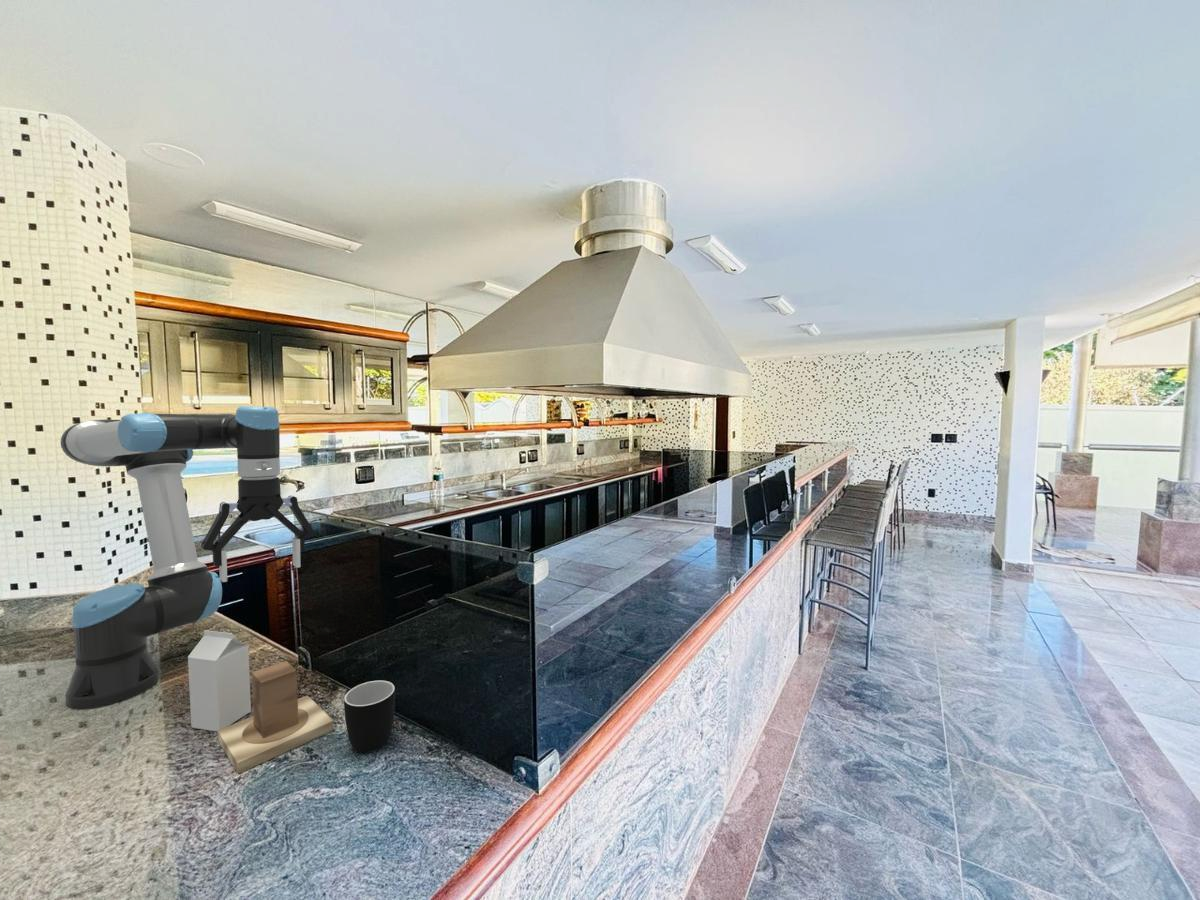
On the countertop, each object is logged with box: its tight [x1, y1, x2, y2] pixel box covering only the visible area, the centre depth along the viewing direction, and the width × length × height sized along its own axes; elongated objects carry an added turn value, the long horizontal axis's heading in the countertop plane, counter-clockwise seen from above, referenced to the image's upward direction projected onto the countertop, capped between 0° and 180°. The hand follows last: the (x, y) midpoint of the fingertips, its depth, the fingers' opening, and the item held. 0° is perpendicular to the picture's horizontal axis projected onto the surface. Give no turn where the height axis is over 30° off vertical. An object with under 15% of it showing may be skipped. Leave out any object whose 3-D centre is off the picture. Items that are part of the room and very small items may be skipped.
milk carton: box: [187, 629, 252, 733], centre depth 101 cm, size 7×7×19 cm
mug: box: [343, 680, 396, 754], centre depth 95 cm, size 12×9×10 cm
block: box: [251, 660, 299, 738], centre depth 96 cm, size 6×6×11 cm
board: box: [217, 695, 335, 775], centre depth 96 cm, size 14×16×2 cm
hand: (261, 573), depth 106 cm, fingers open, 13 cm apart
